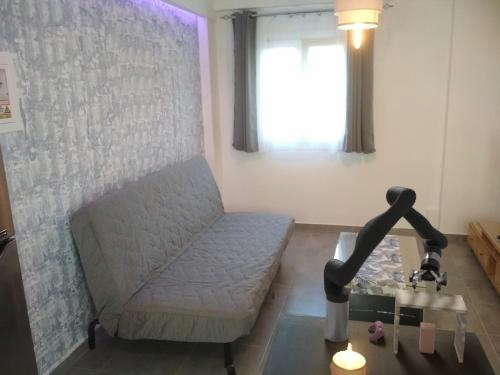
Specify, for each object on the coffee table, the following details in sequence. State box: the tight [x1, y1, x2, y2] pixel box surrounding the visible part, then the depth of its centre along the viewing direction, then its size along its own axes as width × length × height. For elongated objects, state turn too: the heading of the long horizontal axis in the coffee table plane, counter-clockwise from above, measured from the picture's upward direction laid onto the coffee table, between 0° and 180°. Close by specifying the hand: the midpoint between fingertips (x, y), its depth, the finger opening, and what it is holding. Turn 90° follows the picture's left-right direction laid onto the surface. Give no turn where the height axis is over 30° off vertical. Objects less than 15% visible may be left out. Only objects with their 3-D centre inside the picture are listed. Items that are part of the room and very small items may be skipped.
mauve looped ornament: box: [367, 320, 385, 342], centre depth 188 cm, size 10×5×7 cm, turn 169°
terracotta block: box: [418, 322, 436, 354], centre depth 177 cm, size 5×5×10 cm
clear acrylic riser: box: [393, 288, 468, 364], centre depth 176 cm, size 24×13×21 cm, turn 74°
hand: (425, 288), depth 179 cm, fingers open, 8 cm apart
